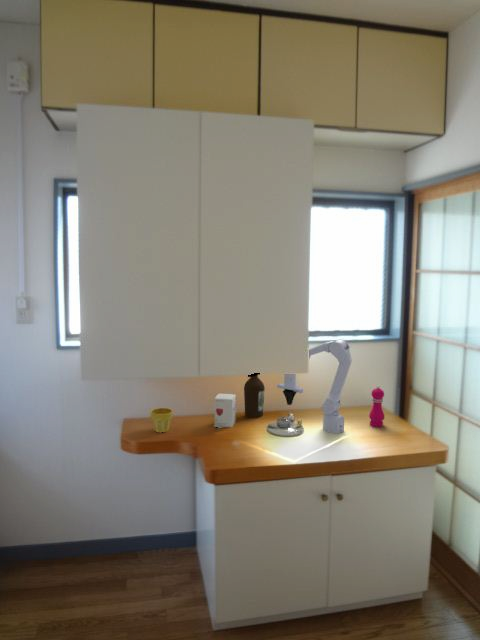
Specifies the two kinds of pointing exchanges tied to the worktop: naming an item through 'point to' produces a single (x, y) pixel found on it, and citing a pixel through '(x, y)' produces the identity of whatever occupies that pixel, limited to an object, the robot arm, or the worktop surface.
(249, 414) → the olive oil
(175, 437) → the worktop surface
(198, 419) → the worktop surface
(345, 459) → the worktop surface
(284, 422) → the cover
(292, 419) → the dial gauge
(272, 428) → the turntable
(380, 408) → the pepper mill
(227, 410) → the supplement box
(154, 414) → the plant pot
